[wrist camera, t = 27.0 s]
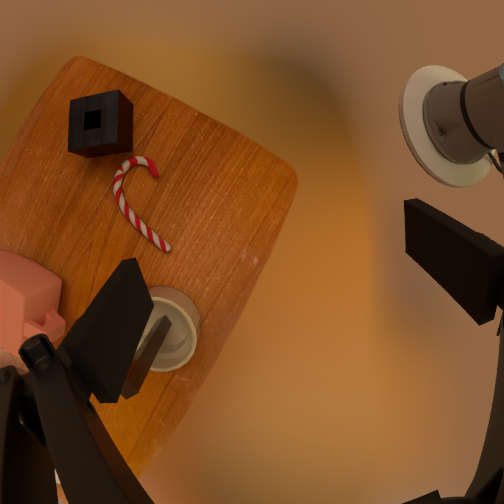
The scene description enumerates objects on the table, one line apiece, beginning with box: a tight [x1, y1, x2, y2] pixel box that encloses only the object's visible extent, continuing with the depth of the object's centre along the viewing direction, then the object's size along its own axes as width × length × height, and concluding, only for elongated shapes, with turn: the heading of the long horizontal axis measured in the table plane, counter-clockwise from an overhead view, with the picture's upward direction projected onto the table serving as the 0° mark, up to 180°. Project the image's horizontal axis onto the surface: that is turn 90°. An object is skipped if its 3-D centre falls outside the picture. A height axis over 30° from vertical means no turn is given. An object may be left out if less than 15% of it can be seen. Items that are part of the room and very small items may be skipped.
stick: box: [120, 315, 172, 399], centre depth 37 cm, size 2×2×20 cm
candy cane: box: [113, 156, 171, 253], centre depth 44 cm, size 8×1×15 cm
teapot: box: [0, 250, 66, 357], centre depth 38 cm, size 22×13×14 cm, turn 69°
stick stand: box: [68, 90, 133, 158], centre depth 39 cm, size 8×8×7 cm
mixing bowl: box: [136, 286, 201, 371], centre depth 44 cm, size 11×11×6 cm
